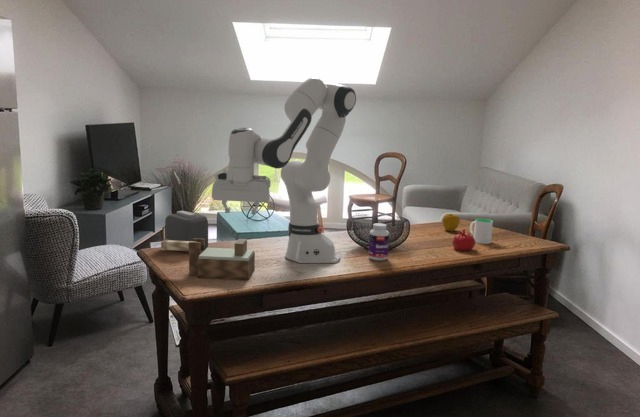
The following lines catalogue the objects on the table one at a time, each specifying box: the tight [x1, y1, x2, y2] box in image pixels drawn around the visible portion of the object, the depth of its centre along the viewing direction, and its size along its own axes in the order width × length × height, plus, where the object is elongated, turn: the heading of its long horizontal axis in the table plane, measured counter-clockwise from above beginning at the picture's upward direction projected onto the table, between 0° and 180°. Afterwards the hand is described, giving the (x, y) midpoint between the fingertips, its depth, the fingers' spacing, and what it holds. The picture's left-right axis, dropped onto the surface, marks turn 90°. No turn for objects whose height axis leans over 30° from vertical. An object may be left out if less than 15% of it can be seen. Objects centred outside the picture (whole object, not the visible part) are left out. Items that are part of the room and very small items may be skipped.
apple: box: [442, 213, 460, 232], centre depth 277 cm, size 9×8×9 cm
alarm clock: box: [164, 210, 209, 253], centre depth 225 cm, size 16×11×16 cm
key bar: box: [160, 239, 195, 252], centre depth 194 cm, size 12×4×3 cm, turn 87°
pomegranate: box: [451, 229, 476, 252], centre depth 240 cm, size 10×10×9 cm
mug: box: [468, 218, 494, 245], centre depth 257 cm, size 12×8×10 cm
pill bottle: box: [367, 222, 390, 262], centre depth 220 cm, size 8×8×14 cm
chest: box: [188, 238, 256, 281], centre depth 194 cm, size 22×12×12 cm, turn 87°
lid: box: [199, 238, 255, 261], centre depth 193 cm, size 17×11×6 cm, turn 87°
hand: (240, 213), depth 190 cm, fingers open, 8 cm apart
